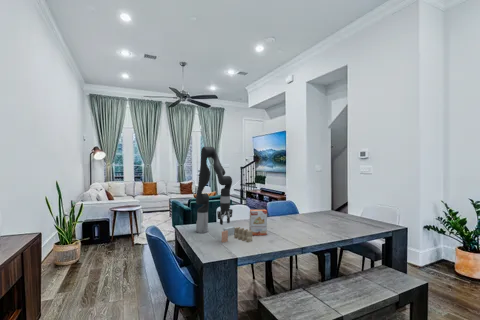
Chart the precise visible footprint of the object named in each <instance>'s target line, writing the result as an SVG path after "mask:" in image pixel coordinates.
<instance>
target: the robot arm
mask: <svg viewBox="0 0 480 320" xmlns="http://www.w3.org/2000/svg"><path fill="white" fill-rule="evenodd" d="M209 158H211V159H212V160H213V166H212V167H213V170H214V172H215V174H216V176H217V181H218V184H219V185H220V186H224V187H223V188H221V189H220V197H219V198H220V202H219V205H220V206H219V208H220V210H217V212H216V213H217V219H218V220H219V224H220V225H221V226H222V225H224V224H223V223H224V218H225V217H226V224H230V223H231V218H233V209H232V208H231V188H232V184H233V178H232V177H231V176H230V175H225V174H226V170H225V169H224V166H222V163H221V161H220V158H219V156H218V153H217V151H216V149H215V147H214V146H203V147H202V148H201V150H200V168H199V174H198V184H197V189H196V194H195V203H196V205H201V207H198V208H197V210H196V211H197V220H196V223H195V224H196V226H195V228H196V229H195V231H196V233H198V234H205V233H208V231H209V207H210V205H209V204H210V196H209V194H208V193H206V192H205V193H203V191H204V189H205V188H206V186H207V185H208V184H209V182H210V179H211V171H210V168H209V166H208V162H207V160H208V159H209Z"/></svg>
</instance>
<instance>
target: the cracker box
mask: <svg viewBox="0 0 480 320" xmlns="http://www.w3.org/2000/svg"><path fill="white" fill-rule="evenodd" d="M248 222H249V229H248V231H250V230H252V237H253V236H267V233H268V232H267V229H268V226H267V225H268V210H267V209H249V221H248Z"/></svg>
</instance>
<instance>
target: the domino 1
mask: <svg viewBox="0 0 480 320" xmlns="http://www.w3.org/2000/svg"><path fill="white" fill-rule="evenodd" d="M228 241H229V236H228V231H227V230H226V231H223V230H222V231H221V243H226V242H228Z"/></svg>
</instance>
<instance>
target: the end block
mask: <svg viewBox="0 0 480 320" xmlns="http://www.w3.org/2000/svg"><path fill="white" fill-rule="evenodd" d="M234 228H236V226H229V227H224V228H223V229H222V231H226V230H227V231H228V237H229V236H234Z"/></svg>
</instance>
